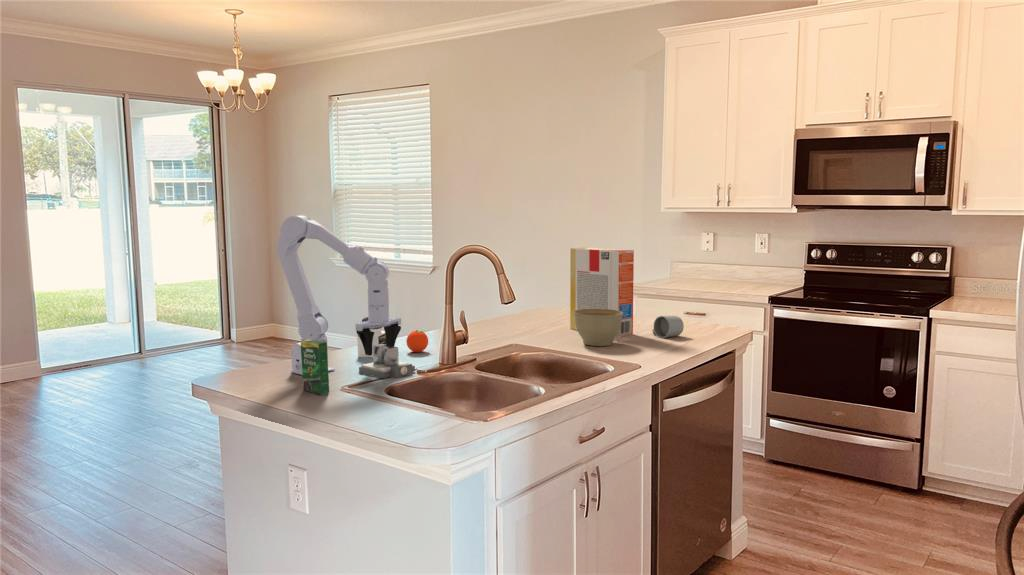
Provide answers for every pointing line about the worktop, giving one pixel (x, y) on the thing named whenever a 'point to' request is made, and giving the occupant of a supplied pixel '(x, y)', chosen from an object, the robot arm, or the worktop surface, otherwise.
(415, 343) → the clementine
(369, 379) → the worktop surface
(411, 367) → the scale
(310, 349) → the green cardboard box
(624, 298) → the cereal box
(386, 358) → the spacer
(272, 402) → the worktop surface
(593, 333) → the planter bowl
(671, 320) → the ceramic mug
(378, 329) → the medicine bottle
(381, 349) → the spacer
